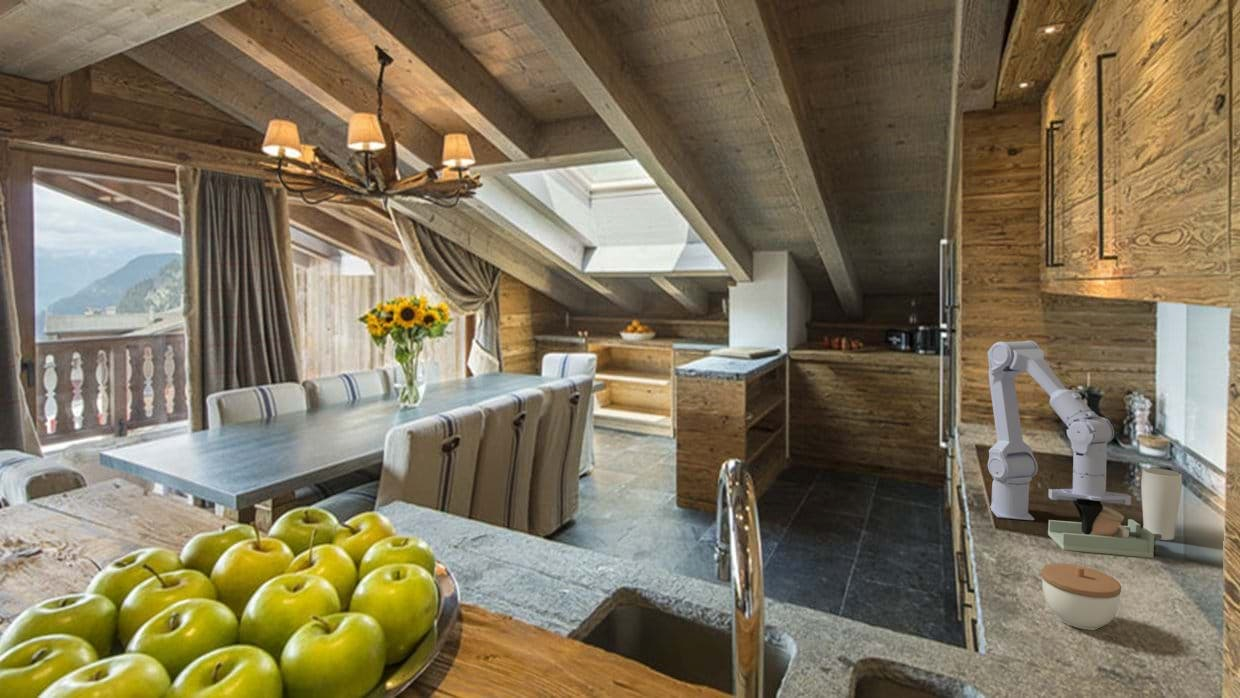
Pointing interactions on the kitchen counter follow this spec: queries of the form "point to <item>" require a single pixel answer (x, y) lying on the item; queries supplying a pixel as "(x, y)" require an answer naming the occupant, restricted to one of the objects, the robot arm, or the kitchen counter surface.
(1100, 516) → the jar
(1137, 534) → the pusher
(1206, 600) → the kitchen counter surface
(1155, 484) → the drinking glass
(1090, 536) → the pale green shallow tray
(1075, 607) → the lidded jar
